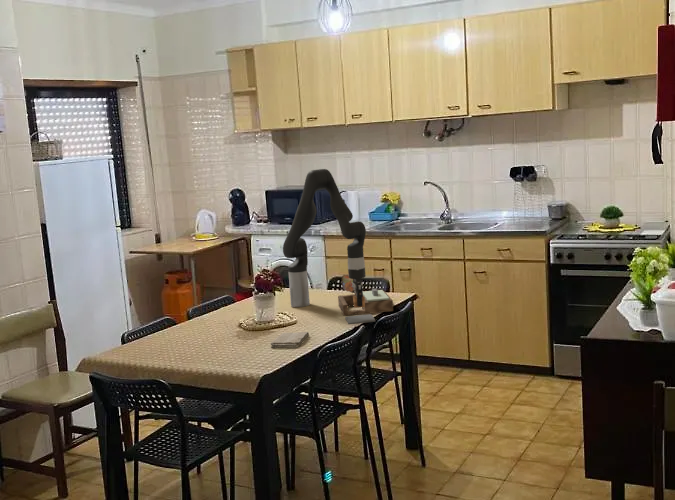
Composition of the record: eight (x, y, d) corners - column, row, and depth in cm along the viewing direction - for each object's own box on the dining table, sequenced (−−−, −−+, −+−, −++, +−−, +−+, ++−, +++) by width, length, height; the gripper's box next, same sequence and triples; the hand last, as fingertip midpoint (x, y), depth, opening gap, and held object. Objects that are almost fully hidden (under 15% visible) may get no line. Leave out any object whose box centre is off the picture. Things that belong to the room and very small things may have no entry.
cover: (367, 301, 353) (367, 294, 353) (361, 293, 372) (361, 286, 371) (389, 299, 354) (388, 292, 354) (382, 291, 373) (381, 285, 372)
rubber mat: (348, 324, 336) (348, 322, 336) (345, 317, 347) (345, 316, 347) (375, 321, 337) (375, 320, 337) (371, 315, 349) (371, 314, 349)
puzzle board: (343, 315, 352) (343, 305, 351) (338, 305, 373) (337, 295, 372) (393, 310, 354) (392, 300, 353) (385, 301, 375) (384, 291, 374)
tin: (341, 288, 413) (340, 273, 411) (346, 288, 414) (345, 272, 413) (353, 293, 399) (352, 277, 398) (359, 292, 400) (358, 276, 399)
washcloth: (269, 349, 306) (269, 342, 306) (282, 337, 324) (281, 330, 323) (298, 349, 304) (298, 341, 303) (309, 337, 321) (308, 329, 321)
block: (355, 307, 339) (354, 297, 338) (353, 305, 343) (353, 295, 342) (365, 306, 339) (364, 296, 339) (363, 304, 344) (362, 294, 343)
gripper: (346, 265, 345) (348, 302, 348) (350, 270, 331) (352, 309, 334) (362, 263, 346) (365, 300, 348) (367, 269, 332) (369, 307, 334)
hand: (359, 304), depth 341 cm, fingers closed on block, 4 cm apart
